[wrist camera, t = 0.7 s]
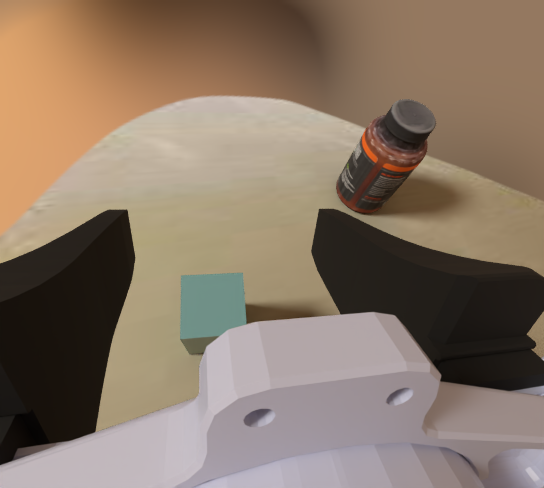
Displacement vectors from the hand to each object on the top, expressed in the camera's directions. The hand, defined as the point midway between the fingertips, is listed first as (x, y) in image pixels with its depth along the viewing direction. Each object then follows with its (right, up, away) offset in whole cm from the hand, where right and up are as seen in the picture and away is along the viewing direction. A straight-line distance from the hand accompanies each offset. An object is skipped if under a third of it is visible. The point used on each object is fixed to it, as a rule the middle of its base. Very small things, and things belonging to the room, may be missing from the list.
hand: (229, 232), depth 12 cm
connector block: (-3, -8, +15) cm, 17 cm away
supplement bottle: (+12, +5, +24) cm, 27 cm away
